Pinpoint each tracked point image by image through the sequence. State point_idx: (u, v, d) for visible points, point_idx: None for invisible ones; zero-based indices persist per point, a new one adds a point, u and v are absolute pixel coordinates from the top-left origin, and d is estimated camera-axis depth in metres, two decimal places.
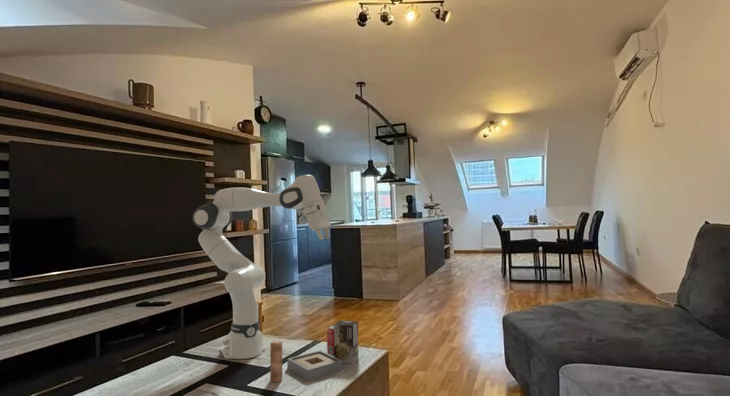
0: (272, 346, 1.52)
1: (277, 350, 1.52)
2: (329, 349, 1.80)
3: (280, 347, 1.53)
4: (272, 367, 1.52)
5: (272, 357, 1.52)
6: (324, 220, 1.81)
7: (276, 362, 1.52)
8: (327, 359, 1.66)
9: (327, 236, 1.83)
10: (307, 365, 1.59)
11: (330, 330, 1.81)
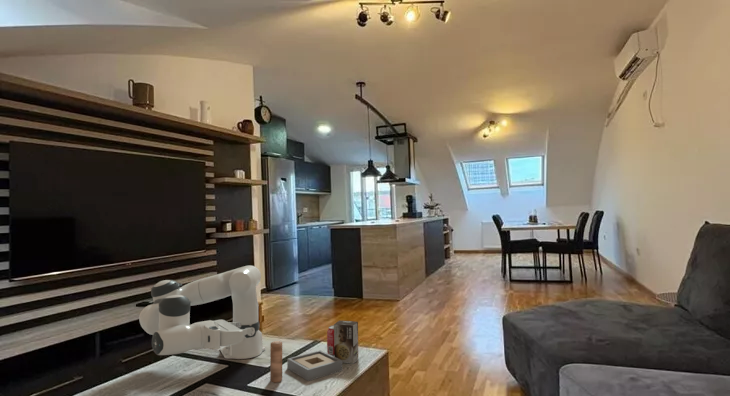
0: (272, 346, 1.52)
1: (277, 350, 1.52)
2: (329, 349, 1.80)
3: (280, 347, 1.53)
4: (272, 367, 1.52)
5: (272, 357, 1.52)
6: (221, 324, 1.44)
7: (276, 362, 1.52)
8: (327, 359, 1.66)
9: (239, 324, 1.49)
10: (307, 365, 1.59)
11: (330, 330, 1.81)
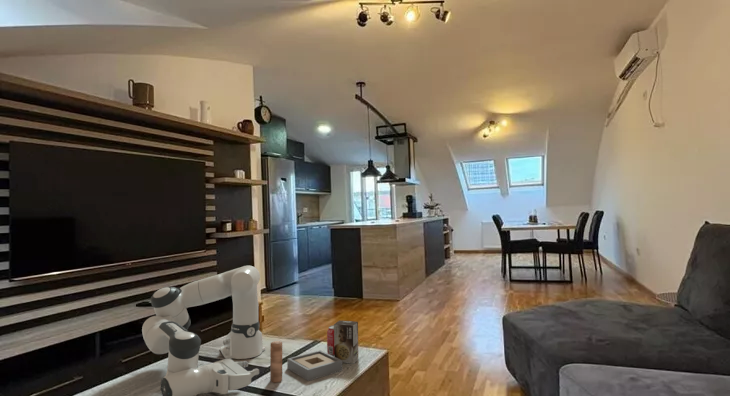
0: (272, 346, 1.52)
1: (277, 350, 1.52)
2: (329, 349, 1.80)
3: (280, 347, 1.53)
4: (272, 367, 1.52)
5: (272, 357, 1.52)
6: (229, 365, 1.44)
7: (276, 362, 1.52)
8: (327, 359, 1.66)
9: (246, 363, 1.50)
10: (307, 365, 1.59)
11: (330, 330, 1.81)
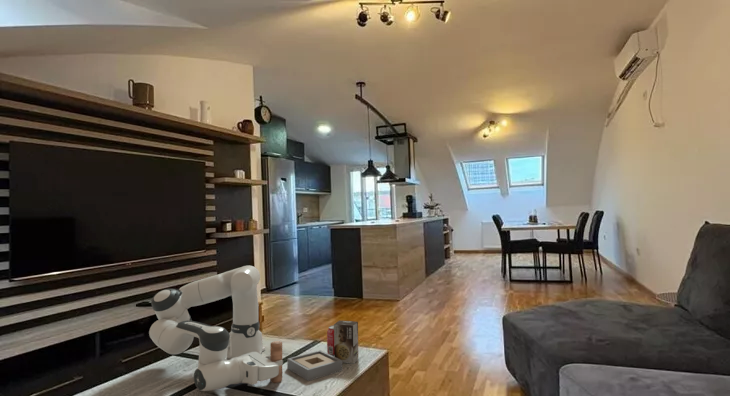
0: (272, 346, 1.52)
1: (277, 350, 1.52)
2: (329, 349, 1.80)
3: (280, 347, 1.53)
4: None
5: (272, 357, 1.52)
6: (256, 358, 1.51)
7: None
8: (327, 359, 1.66)
9: None
10: (307, 365, 1.59)
11: (330, 330, 1.81)
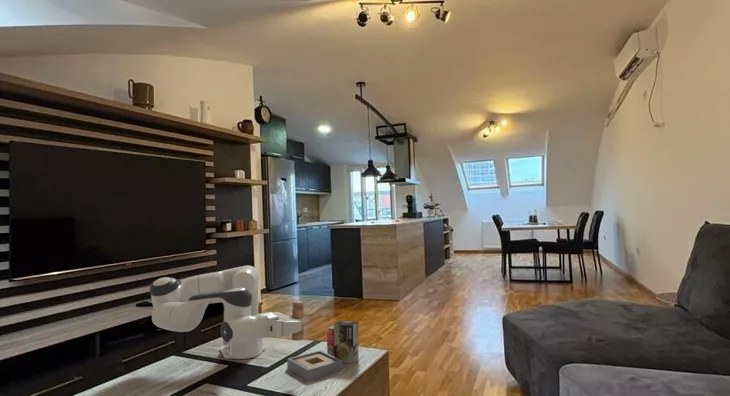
0: (294, 305, 1.57)
1: (299, 308, 1.57)
2: (329, 349, 1.80)
3: (302, 306, 1.58)
4: None
5: (294, 315, 1.57)
6: (279, 316, 1.56)
7: None
8: (327, 359, 1.66)
9: None
10: (307, 365, 1.59)
11: (330, 330, 1.81)
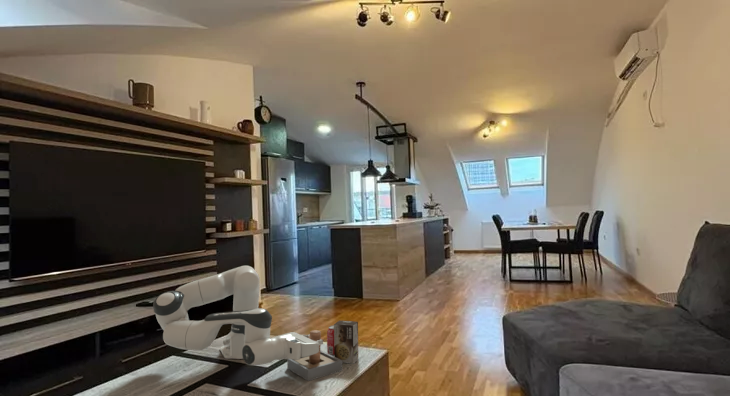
0: (312, 335, 1.63)
1: (316, 338, 1.62)
2: (329, 349, 1.80)
3: (319, 336, 1.63)
4: None
5: None
6: (296, 337, 1.62)
7: None
8: (327, 359, 1.66)
9: None
10: (307, 365, 1.59)
11: (330, 330, 1.81)
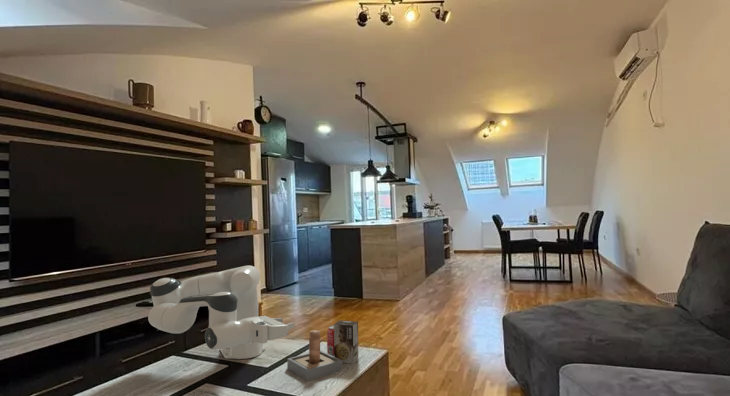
0: (311, 334, 1.63)
1: (316, 338, 1.63)
2: (329, 349, 1.80)
3: (318, 335, 1.64)
4: (311, 354, 1.63)
5: (311, 345, 1.63)
6: (266, 320, 1.53)
7: (315, 349, 1.63)
8: (327, 359, 1.66)
9: (280, 320, 1.59)
10: (307, 365, 1.59)
11: (330, 330, 1.81)
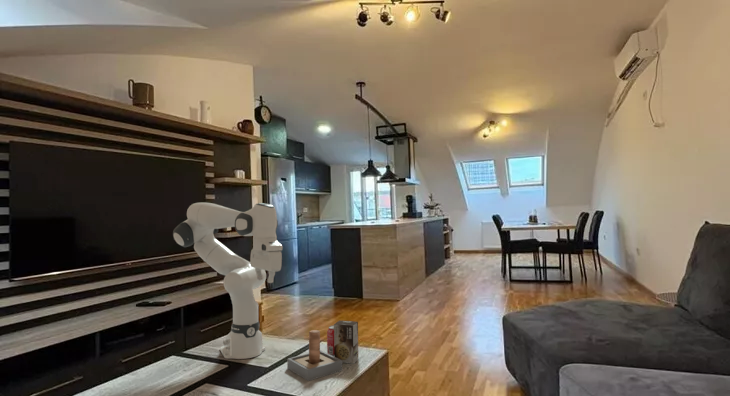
0: (311, 334, 1.63)
1: (315, 338, 1.63)
2: (329, 349, 1.80)
3: (318, 335, 1.64)
4: (311, 354, 1.63)
5: (311, 345, 1.63)
6: None
7: (315, 349, 1.63)
8: (327, 359, 1.66)
9: (260, 277, 1.60)
10: (307, 365, 1.59)
11: (330, 330, 1.81)
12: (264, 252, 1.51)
